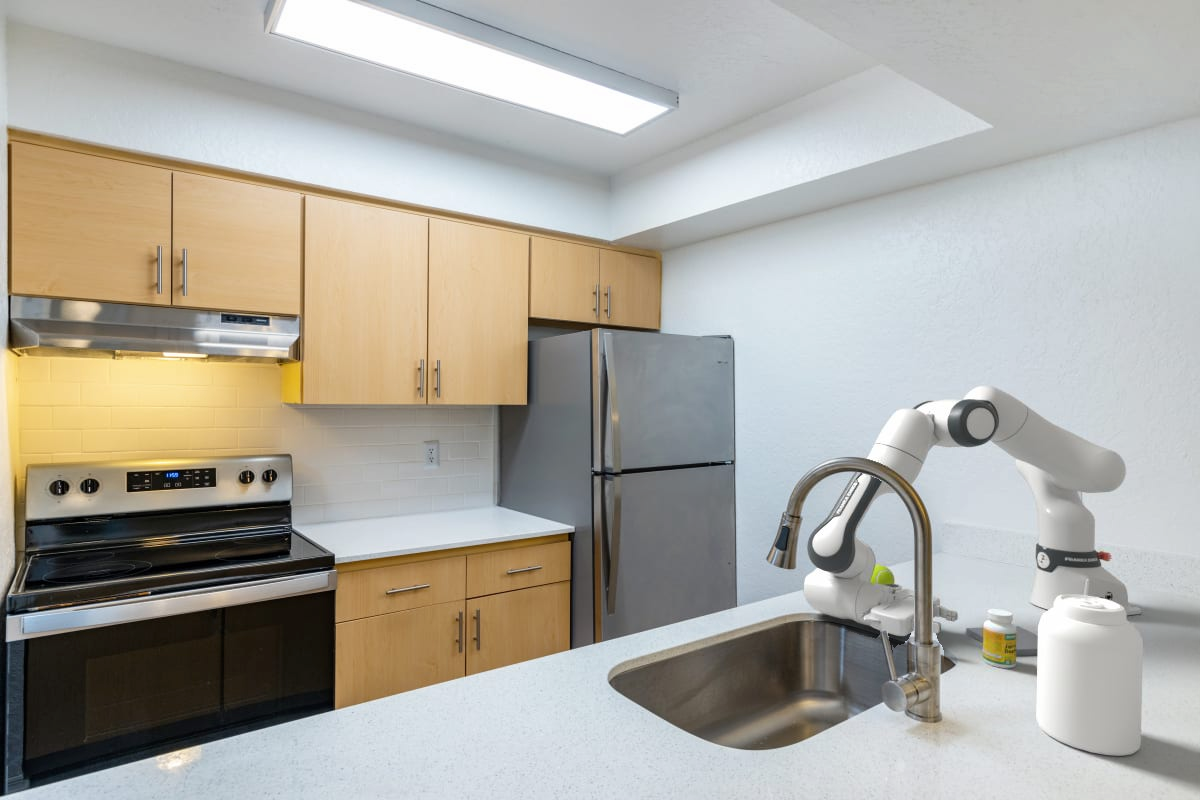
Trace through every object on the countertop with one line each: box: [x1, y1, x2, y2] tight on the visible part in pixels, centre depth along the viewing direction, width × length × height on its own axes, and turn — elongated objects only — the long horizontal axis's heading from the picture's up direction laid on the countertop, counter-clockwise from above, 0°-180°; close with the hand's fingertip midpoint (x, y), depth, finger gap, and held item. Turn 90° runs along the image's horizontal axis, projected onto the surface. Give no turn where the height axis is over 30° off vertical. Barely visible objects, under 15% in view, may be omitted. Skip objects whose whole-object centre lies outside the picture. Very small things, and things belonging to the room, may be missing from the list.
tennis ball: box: [869, 564, 895, 585], centre depth 169 cm, size 7×7×7 cm
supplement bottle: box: [982, 608, 1017, 669], centre depth 126 cm, size 5×5×10 cm
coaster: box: [965, 625, 1038, 657], centre depth 136 cm, size 12×12×1 cm
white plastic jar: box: [1035, 594, 1144, 757], centre depth 99 cm, size 12×12×20 cm
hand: (948, 622), depth 132 cm, fingers open, 8 cm apart
